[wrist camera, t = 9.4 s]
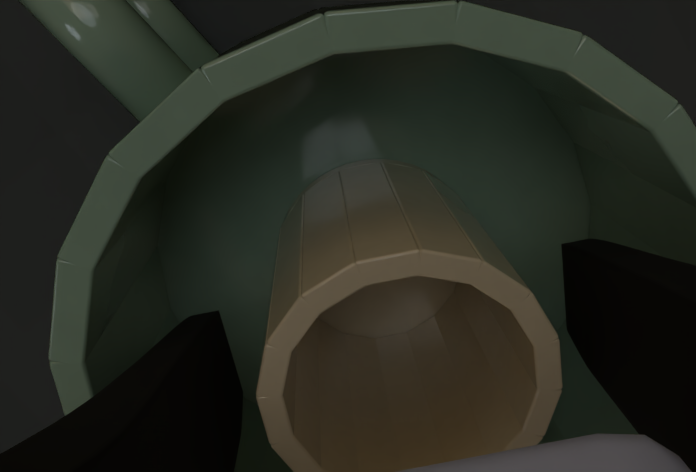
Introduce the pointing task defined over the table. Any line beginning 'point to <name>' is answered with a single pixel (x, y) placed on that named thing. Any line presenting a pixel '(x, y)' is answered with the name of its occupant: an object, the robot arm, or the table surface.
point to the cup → (398, 330)
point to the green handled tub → (343, 148)
